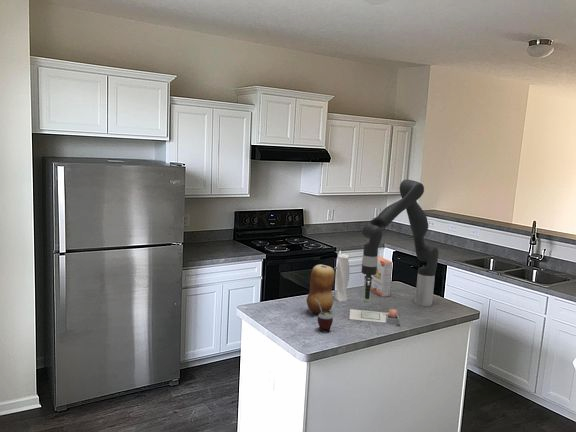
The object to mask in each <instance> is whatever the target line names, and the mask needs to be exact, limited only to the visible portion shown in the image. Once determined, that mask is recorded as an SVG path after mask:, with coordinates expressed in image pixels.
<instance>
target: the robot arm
mask: <svg viewBox="0 0 576 432" xmlns="http://www.w3.org/2000/svg"><path fill="white" fill-rule="evenodd" d="M424 192H425V186H424V184H423V183H422V182H419V181H416V180H412V179H404V180H402V181H401V182H400V185H399V194H400V196H401V199H399V200H398V201H397V200H396V201H394V202H393V203H391V204H389V205H388V206H386V207H385V208H384V209H382V210H381V212H380V213H379V214H378V215H377V216H376V217H374V218H372V219H370V220H369V221H368V222H366V223H365V225H364V226H363V227H362V231H361V232H362V233H361V234H362V235H363V237H365V238H367V239H369V241H368V242H367V243H365V244H364V245H363V252H362V253H363V254H362V261H361V274H363V275H364V281H365V299H369V296H370V291H371V290H370V289H371V286H372V279H373V278H372V277H371V275H375V274H376V273H377V261H378V259H377V257H378V255H379V254H378V253H379V247H380V245H381V241H382V238H383V230H382V228H387V227H388V226H390V224H391V223H392V222H393V221H394V220H395V219H396V218H397V217H398V216H399V215H400V214H401V213H403V211H405V210H406V214H407V217H408V223H409V225H410V229H411V233H412V237H413V241H414V242H413V243H414V249H415V250H414V251H415V255H416V258H417V260H419V261H421V262H425V263H426V266H421V267H418V269H417V277H416V278H417V279H416V288H415V299H414V300H415V301H414V303H415V304H416V305H418V306H422V307H430V306H432V305H433V300H434V299H433V298H434V288H435V276H436V271H437V267H438V259H439V255H440V254H439V249H438V247H436V246H433V245H429V244H426V243H425V239H424V238H425V236H426V234H427V232H428V230H429V222H428V218H427V214H426V213H425V211H424V210H423V209H422V207H421V206H420V205H419V203H418V202H417V201H418V200H419V199H420V198H422V196H423V195H424ZM367 288H369V289H367ZM371 292H372V291H371Z"/></svg>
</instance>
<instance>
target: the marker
mask: <svg viewBox="0 0 576 432" xmlns="http://www.w3.org/2000/svg"><path fill="white" fill-rule="evenodd" d="M367 289H369V288H367ZM370 290H371V289H370ZM371 295H372V291H370V296H369V299H365V280H364V282H363V297H362V300H363V303H366V304H369V303H370V302H371Z"/></svg>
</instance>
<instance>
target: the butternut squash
mask: <svg viewBox="0 0 576 432" xmlns="http://www.w3.org/2000/svg"><path fill="white" fill-rule="evenodd" d="M335 277H336V273H335V270H334V268H333V267H331V266H329V265H325V264H316V265H314V266H313V267H312V269H311V274H310V282H309V291H308V294H307V297H306V300H305V302H306V304H307V307H308V309H309V310H310V311H311V312H312V313H313V314H316V315H317V314H318V315H319V314H320V313H321V310H320V307H319V304H318V302H319V303H320V306H321V309H322V312H329V311H330V310H332V307H333V305H334V296H333V292H332V291H333V290H332V289H333V286H334V283H335ZM314 299H315V300H317V301H318V302H316V301H315V300H314Z"/></svg>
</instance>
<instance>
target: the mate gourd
mask: <svg viewBox="0 0 576 432" xmlns="http://www.w3.org/2000/svg"><path fill="white" fill-rule="evenodd" d="M314 300H315V299H314ZM315 301H316V302H318V301H317V300H315ZM318 304H319V307H320V310H321V313H320V314H318V316H317V324H318V329H319V332H320V333H321V332H327V333H331V327H332V325H333V322H334V319H333V318H334V317H333V315H332V313H331V312H329V311H328V312H322V309H321V306H320V303H319V302H318Z"/></svg>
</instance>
